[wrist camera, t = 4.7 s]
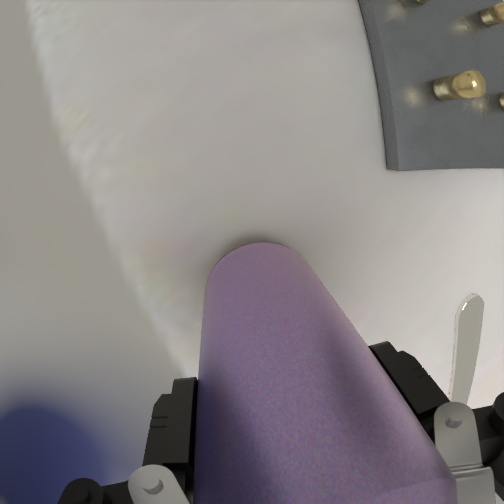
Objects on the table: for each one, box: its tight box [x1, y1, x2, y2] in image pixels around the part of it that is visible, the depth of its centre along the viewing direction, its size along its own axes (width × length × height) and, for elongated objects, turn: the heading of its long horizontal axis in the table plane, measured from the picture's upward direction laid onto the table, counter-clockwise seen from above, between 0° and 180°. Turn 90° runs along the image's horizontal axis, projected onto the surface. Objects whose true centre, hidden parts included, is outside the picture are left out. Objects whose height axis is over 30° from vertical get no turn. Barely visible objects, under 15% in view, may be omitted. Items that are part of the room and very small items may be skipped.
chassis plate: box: [358, 0, 504, 171], centre depth 13 cm, size 18×16×5 cm
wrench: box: [449, 294, 484, 405], centre depth 26 cm, size 8×32×1 cm, turn 19°
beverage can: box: [193, 242, 458, 504], centre depth 10 cm, size 6×6×15 cm
